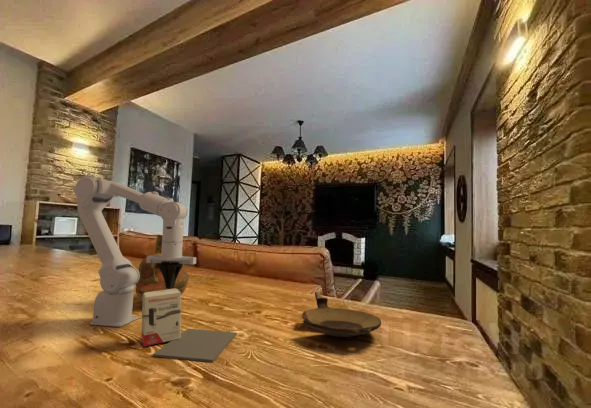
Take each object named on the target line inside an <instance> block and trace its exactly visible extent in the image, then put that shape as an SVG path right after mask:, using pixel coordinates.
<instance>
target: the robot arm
mask: <svg viewBox="0 0 591 408" xmlns="http://www.w3.org/2000/svg"><path fill="white" fill-rule="evenodd" d="M73 192H74V194H75V197H76V199H77V200H76V201H77V202H76V203H77V205H76V206H77V213H78V216H79V218H80V220H81V222H82V224H83V227H84V229H85V231H86V232H87V235H88V236H89V240H90V241H91V244H92V246H93V248H94V250H95V252H96V254H97V256H98V258H99V261H100V262H101V266H100V268H99V270H98V275H99V278H100V282H99V283H100V288H101V289H102V290H101V291H99V292H98V293H97V295H96V297H95V299H94V301H93V302H94V303H93V315H92V321H90V323H89V325H92V326H104V327H105V326H106V327H116V328H117V327H118V328H121V327H124V326H126V325H127V324H129V323H132V322H133V321H135V320H137V319H139V316H136V315H133V306H134V305H133V304H134V293H135V289H136V283H137V282H138V281H139V278H140V274H139V269H137V268H136V267H135V266H134V265H133V264H132V262H131V260H130V259H128V258H126V257H125V256H123V254H122V252H121V249H120V248H119V246H118V243H117V242H116V239H115V236H114V235H113V233H112V232H111V229H110V227H109V226H108V225H109V224H108V223H107V221H106V219H105V217H104V215H103V213H102V211H103V210H104V208H106V206H107V205H108V204H110V202H111V201H112V200H113V199H114V198H115V197H116V198H117V197H120V198H124V199H126V200H129V201H132V202H135V203H137V204H138V205H139V208H140V209H141V210H143V211H146V212H148V213H151V214H153V215H156V216H159V217H160V218H161V219H162V235H161V236H162V251H161V256H149V255H146V257H147V263H161V265H159V269H160V271H161V273H162V275H163V277H164V281H165V285H166V289H172V288H174V285H175V281H176V278H177V276H178V274H179V272H180V270H181V268H182V267H183V268H184V266H183V264H185V265H195V264H197V257H196V256H184V255H183V241H184V221H185V219H186V217H187V216H188V209H187V206H186V205H185V204H183V203H182V202H180V201H177V202H176V201H173V200H174V199H173V198H170V197H164V196H162V195H159V192H157V191H148V192H144V193H142V192H141V191H139V190H137V189H133V188H131V187H129V186H127V185H125V184H122V183H120V182H115V181H111V180H106V179H102V178H97V177H93V176H90V175H85V176H82V177H80V178H79V179H78V180H77V182H76V184H75V186H74V188H73ZM182 255H183V256H182ZM175 261H177V262H175Z"/></svg>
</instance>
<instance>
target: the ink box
mask: <svg viewBox="0 0 591 408" xmlns="http://www.w3.org/2000/svg"><path fill="white" fill-rule="evenodd" d="M141 302H142V304H141V305H142V307H141V308H142V309H141V310H142V311H141V343H142V346H143V347H149V346H153V345H158V344H162V343H167V342H170V341H172V340H176V339H180V338H181V332H182V331H181V330H182V324H181V323H182V320H181V319H182V313H181V312H182V303H181V302H182V295H181V292H180V291H179V290H178V289H175V288H174V289H167V290H160V291H153V292H146V293H143V300H142V301H141Z"/></svg>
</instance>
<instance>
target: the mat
mask: <svg viewBox="0 0 591 408" xmlns="http://www.w3.org/2000/svg"><path fill="white" fill-rule="evenodd" d="M237 335H238V334H237V332H233V331H221V330H209V329H198V328H197V329H196V328H187V329H186V330H184V331H183V332H182V333H181V338H180V339H176V340H172V341H168V343H166V344H165V345H164V346H162V347H161V348H159V349H158V350H157V351H155V352H154V353H153V354H152V358H165V359H166V358H167V359H175V360H183V361H184V360H186V361H195V362H196V361H197V362H204V363H205V362H206V363H214V362H215V361H216V360H217V358H218V357H219V356H220V355H221V354H222V353H223V351H225V349H227V348H226V347H228V346H229V344H230V343H231V342H232V341H233V340H234V338H235V337H236V336H237Z"/></svg>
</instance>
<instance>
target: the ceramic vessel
mask: <svg viewBox="0 0 591 408" xmlns="http://www.w3.org/2000/svg"><path fill="white" fill-rule="evenodd" d="M161 251H162V235H160V234H157V236H156V242H155V250H154V254H149V255H148V256H161ZM182 256H184V255H183V254H182ZM175 262H177V261H175ZM159 265H161V263H147V256H146V257H145V258H143V259H142V260H141V262H140V263H139V266H138V271H139V274H140V278H139V281H138V282H137V283H136V284H135V294H136V296H137V298H138V299H139V300H140V301H141V302H142V300H143V293H146V292H153V291H160V290H167V289H166V285H165V281H164V277H163V275H162V273H161V271H160V269H159ZM185 265H186V264H183V267H182V268H181V270H180V272H179V274H178V276H177V278H176V281H175V285H174V288H175V289H178V290H179V291H180V292H181V296H182V295H183V294H184V292H185V290H186V288H187V287H188V283H189V279H190V277H189V274H188V272H187V270H185V269H184V267H185ZM174 288H172V289H174Z"/></svg>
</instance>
